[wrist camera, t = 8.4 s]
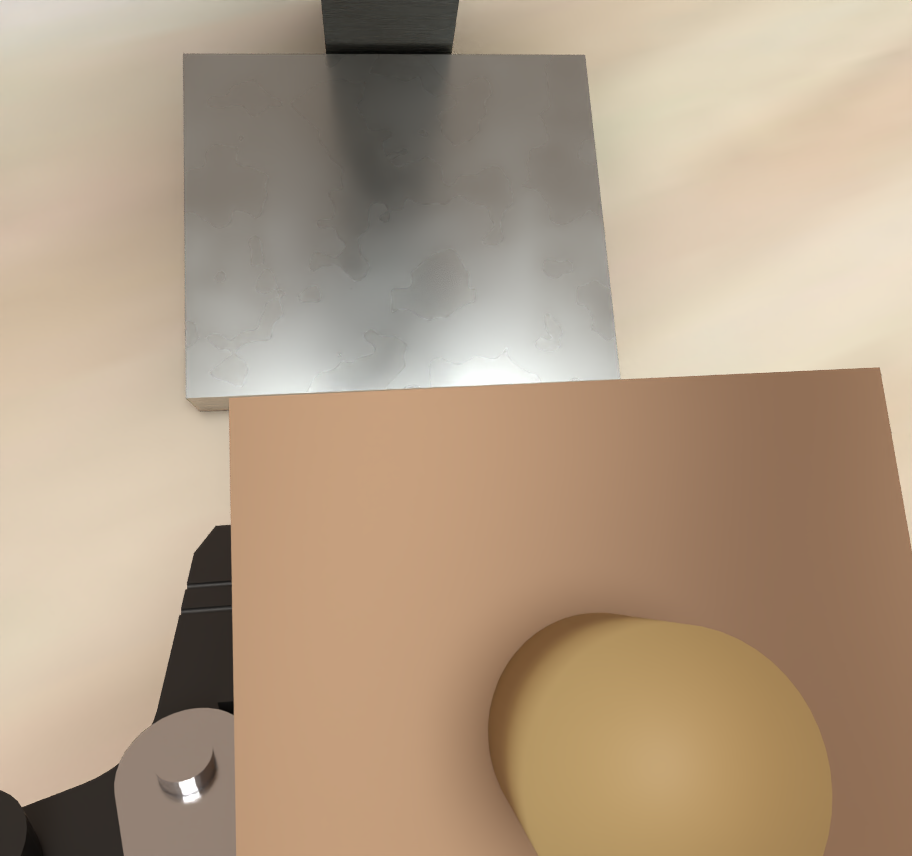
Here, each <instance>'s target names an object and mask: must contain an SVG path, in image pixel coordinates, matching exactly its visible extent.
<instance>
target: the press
mask: <svg viewBox="0 0 912 856" xmlns="http://www.w3.org/2000/svg"><path fill="white" fill-rule="evenodd" d="M321 3H322V14H323V24H324V34H325V45H326V54H183V90H184V222H185V354H186V399H187V400H188V401H189V402H190V403H192V404H193V405H194V406H195V407H196V408H197V409H198V410H199V411H218V410H229V398H237V397H258V396H279V395H301V394H322V393H344V392H365V391H387V390H408V389H429V388H451V387H472V386H494V385H515V384H537V383H558V382H579V381H601V380H620V370H619V361H618V352H617V343H616V334H615V325H614V315H613V306H612V297H611V288H610V279H609V270H608V261H607V251H606V242H605V233H604V224H603V215H602V206H601V197H600V187H599V178H598V169H597V160H596V151H595V142H594V133H593V123H592V114H591V105H590V96H589V87H588V78H587V69H586V59H585V55H456V54H451V52H452V45H453V38H454V31H455V24H456V17H457V10H458V4H459V0H321Z"/></svg>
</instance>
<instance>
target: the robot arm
mask: <svg viewBox="0 0 912 856" xmlns="http://www.w3.org/2000/svg"><path fill="white" fill-rule="evenodd" d="M0 856H236V810H235V747H234V685H233V623H232V560H231V525H222V526H215V528H214V529H213V530H212V531H211V533H210V534H209V535H208V536H207V538H206V539H205V540H204V541H203V543H202V544H201V545H200V546H199V548H198V549H197V550H196V551H195V553H194V556H193V560H192V564H191V568H190V573H189V577H188V581H187V590H185V594H184V598H183V603H182V607H181V615H179V620H178V624H177V628H176V632H175V637H174V641H173V645H172V649H171V654H170V658H169V662H168V666H167V671H166V675H165V679H164V683H163V688H162V692H161V696H160V700H159V705H158V709H157V712H156V715H155V719H154V721H153V723H152V725H151V726H150V727H148V728H147V729H146V730H145V731H143V732H142V733H141V734H140V735H139V736H138V737H137V738H136V739H135V740H134V741H133V742H132V744H131V745H130V746H129V748H128V749H127V750H126V752H125V753H124V755H123V757H122V759H121V761H120V763H119V764H118V765H116V766H115V767H114V768H112V769H111V770H109V771H108V772H106V773H104V774H103V775H101V776H99V777H97V778H95V779H93V780H91V781H89V782H86V783H84V784H82V785H79V786H77V787H74V788H71V789H69V790H66V791H63V792H61V793H58V794H56V795H53V796H50V797H48V798H45V799H43V800H40V801H37V802H35V803H32V804H30V805H27V806H24V807H21V806H20V804H19V803H18V801H17V800H16V799H14V798H13V797H12V796H11V795H9V794H7V793H5V792H3V791H1V790H0Z"/></svg>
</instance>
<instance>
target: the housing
mask: <svg viewBox="0 0 912 856" xmlns="http://www.w3.org/2000/svg"><path fill="white" fill-rule="evenodd" d="M229 436H230V498H231V560H232V623H233V685H234V747H235V810H236V856H912V549H911V544H910V538H909V532H908V527H907V521H906V515H905V509H904V504H903V498H902V492H901V487H900V481H899V475H898V469H897V464H896V458H895V452H894V446H893V441H892V435H891V429H890V424H889V418H888V412H887V406H886V401H885V395H884V389H883V384H882V378H881V372H880V367H879V368H858V369H837V370H815V371H794V372H772V373H751V374H729V375H708V376H687V377H665V378H644V379H622V380H601V381H579V382H558V383H537V384H515V385H494V386H472V387H451V388H429V389H408V390H387V391H365V392H344V393H322V394H301V395H279V396H258V397H237V398H229Z"/></svg>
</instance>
